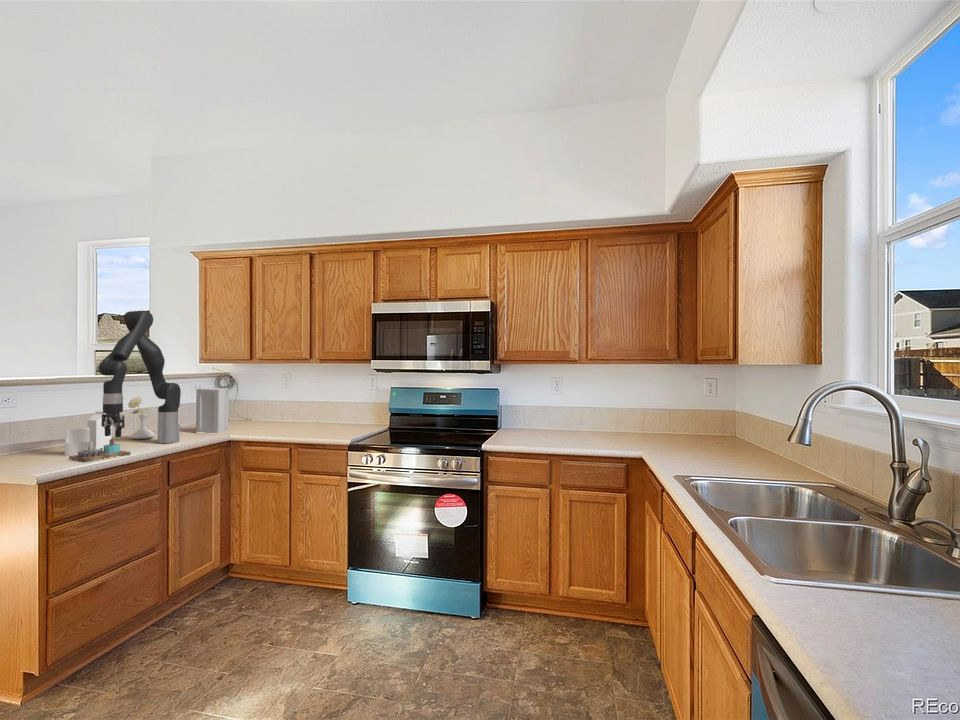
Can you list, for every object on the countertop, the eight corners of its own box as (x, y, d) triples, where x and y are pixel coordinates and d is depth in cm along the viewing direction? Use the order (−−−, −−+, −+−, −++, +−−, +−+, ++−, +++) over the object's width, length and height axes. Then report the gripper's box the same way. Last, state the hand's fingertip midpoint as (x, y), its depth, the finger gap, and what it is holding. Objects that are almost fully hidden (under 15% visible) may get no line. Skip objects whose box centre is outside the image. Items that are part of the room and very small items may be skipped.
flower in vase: (149, 436, 270) (149, 395, 271) (158, 438, 265) (159, 395, 265) (123, 439, 259) (124, 396, 259) (133, 441, 253) (133, 397, 254)
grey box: (238, 431, 293) (238, 388, 293) (218, 434, 279) (219, 389, 279) (215, 430, 299) (216, 387, 299) (195, 433, 284) (195, 389, 285)
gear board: (114, 452, 221) (114, 436, 221) (130, 454, 216) (130, 438, 216) (69, 459, 205) (69, 442, 205) (85, 462, 199) (85, 444, 199)
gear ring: (115, 450, 218) (115, 443, 218) (122, 451, 216) (122, 444, 216) (100, 452, 213) (100, 445, 213) (108, 453, 210) (108, 446, 210)
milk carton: (95, 450, 227) (96, 412, 227) (86, 449, 230) (87, 412, 230) (111, 447, 234) (112, 411, 234) (102, 446, 236) (103, 410, 237)
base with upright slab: (87, 451, 225) (87, 427, 225) (91, 453, 219) (91, 428, 219) (63, 453, 218) (63, 429, 218) (66, 456, 212) (66, 430, 212)
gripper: (130, 402, 215) (130, 436, 215) (113, 401, 221) (113, 434, 221) (112, 404, 208) (112, 438, 208) (95, 402, 214) (95, 436, 214)
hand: (112, 436), depth 215 cm, fingers open, 8 cm apart
